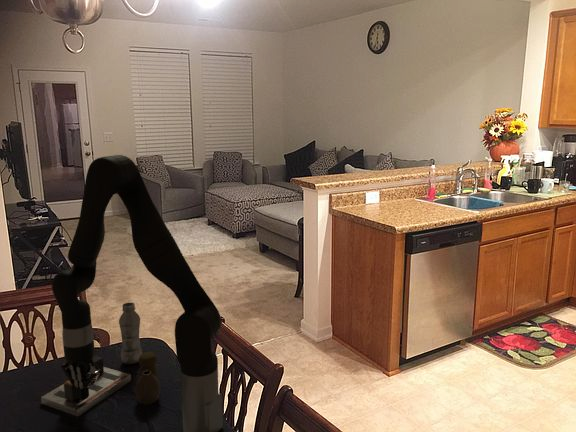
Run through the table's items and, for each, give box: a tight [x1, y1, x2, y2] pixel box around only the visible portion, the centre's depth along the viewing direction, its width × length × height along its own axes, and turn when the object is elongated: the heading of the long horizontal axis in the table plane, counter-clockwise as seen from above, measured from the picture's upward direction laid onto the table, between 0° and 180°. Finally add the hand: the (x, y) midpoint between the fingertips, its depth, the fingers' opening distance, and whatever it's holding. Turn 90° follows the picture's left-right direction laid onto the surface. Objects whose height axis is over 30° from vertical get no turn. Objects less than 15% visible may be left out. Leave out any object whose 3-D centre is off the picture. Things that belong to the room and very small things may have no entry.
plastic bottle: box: [118, 302, 143, 365], centre depth 155 cm, size 6×7×20 cm
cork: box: [138, 351, 159, 380], centre depth 141 cm, size 6×6×11 cm
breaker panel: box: [40, 355, 132, 417], centre depth 140 cm, size 14×20×6 cm
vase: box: [134, 371, 161, 406], centre depth 135 cm, size 7×7×9 cm
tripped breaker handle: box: [63, 379, 78, 401], centre depth 133 cm, size 3×3×5 cm
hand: (83, 398), depth 131 cm, fingers closed
